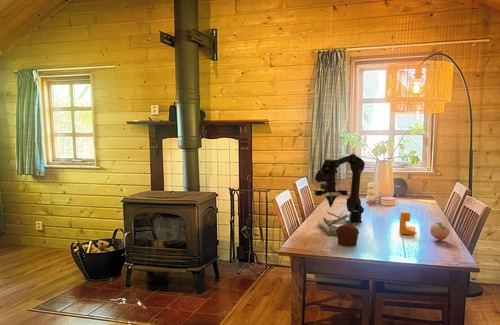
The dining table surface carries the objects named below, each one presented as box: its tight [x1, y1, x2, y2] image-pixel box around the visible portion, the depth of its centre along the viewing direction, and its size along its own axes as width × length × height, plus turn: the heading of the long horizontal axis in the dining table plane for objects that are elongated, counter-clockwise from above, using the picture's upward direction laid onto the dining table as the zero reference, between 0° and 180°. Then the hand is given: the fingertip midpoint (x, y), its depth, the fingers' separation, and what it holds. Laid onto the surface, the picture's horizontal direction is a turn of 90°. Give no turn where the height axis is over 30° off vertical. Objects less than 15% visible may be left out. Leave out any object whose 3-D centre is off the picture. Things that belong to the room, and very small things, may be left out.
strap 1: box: [327, 211, 349, 221], centre depth 222 cm, size 13×3×1 cm, turn 94°
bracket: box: [398, 211, 416, 236], centre depth 210 cm, size 11×7×12 cm, turn 151°
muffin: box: [336, 224, 360, 248], centre depth 191 cm, size 12×11×10 cm
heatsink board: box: [318, 217, 353, 237], centre depth 218 cm, size 16×23×6 cm
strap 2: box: [327, 214, 349, 226], centre depth 213 cm, size 13×3×1 cm, turn 93°
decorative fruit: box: [429, 221, 451, 242], centre depth 194 cm, size 9×8×10 cm
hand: (330, 206), depth 221 cm, fingers closed
